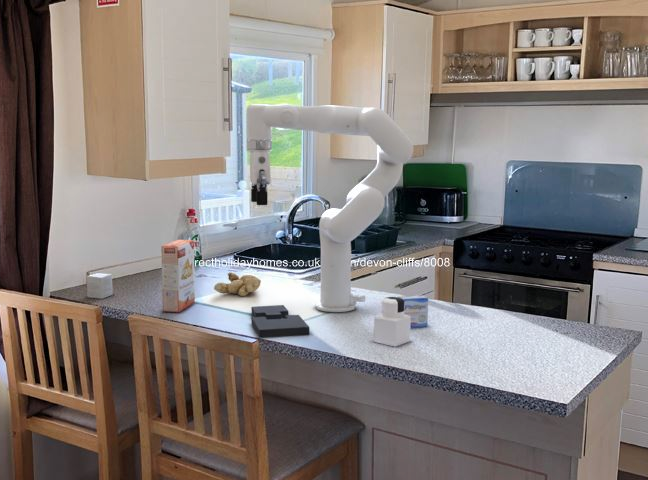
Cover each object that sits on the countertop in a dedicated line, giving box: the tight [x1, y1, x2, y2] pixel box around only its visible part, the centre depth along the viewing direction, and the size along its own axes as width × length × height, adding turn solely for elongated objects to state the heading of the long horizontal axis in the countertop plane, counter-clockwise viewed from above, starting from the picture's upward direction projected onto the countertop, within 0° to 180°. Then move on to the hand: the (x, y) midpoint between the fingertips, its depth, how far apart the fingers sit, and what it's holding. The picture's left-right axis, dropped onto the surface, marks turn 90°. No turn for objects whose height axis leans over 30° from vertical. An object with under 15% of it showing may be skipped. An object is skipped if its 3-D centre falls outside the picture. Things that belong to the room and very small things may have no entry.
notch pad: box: [251, 314, 310, 339], centre depth 216 cm, size 14×14×2 cm
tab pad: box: [251, 304, 290, 320], centre depth 230 cm, size 10×11×2 cm
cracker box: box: [160, 239, 196, 313], centre depth 240 cm, size 14×6×21 cm, turn 168°
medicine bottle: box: [373, 296, 411, 348], centre depth 203 cm, size 7×7×12 cm
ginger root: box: [213, 271, 262, 297], centre depth 262 cm, size 16×16×8 cm
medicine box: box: [398, 294, 429, 329], centre depth 220 cm, size 8×4×9 cm, turn 106°
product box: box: [86, 272, 114, 300], centre depth 256 cm, size 6×6×7 cm
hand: (259, 203), depth 230 cm, fingers open, 9 cm apart
